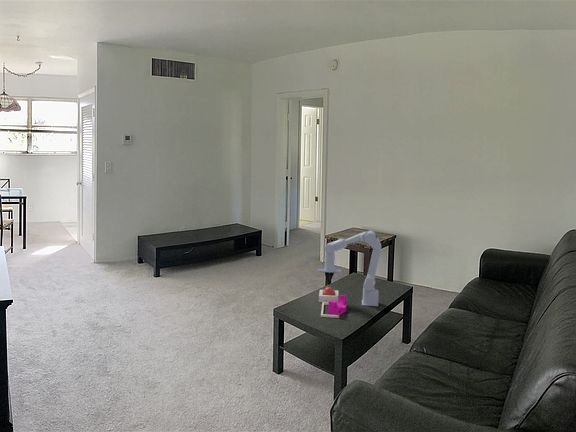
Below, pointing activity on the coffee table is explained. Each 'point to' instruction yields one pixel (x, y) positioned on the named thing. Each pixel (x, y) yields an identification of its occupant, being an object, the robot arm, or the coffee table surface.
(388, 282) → the coffee table surface
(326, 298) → the dome housing
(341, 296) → the toy block
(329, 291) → the dome
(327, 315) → the frame
